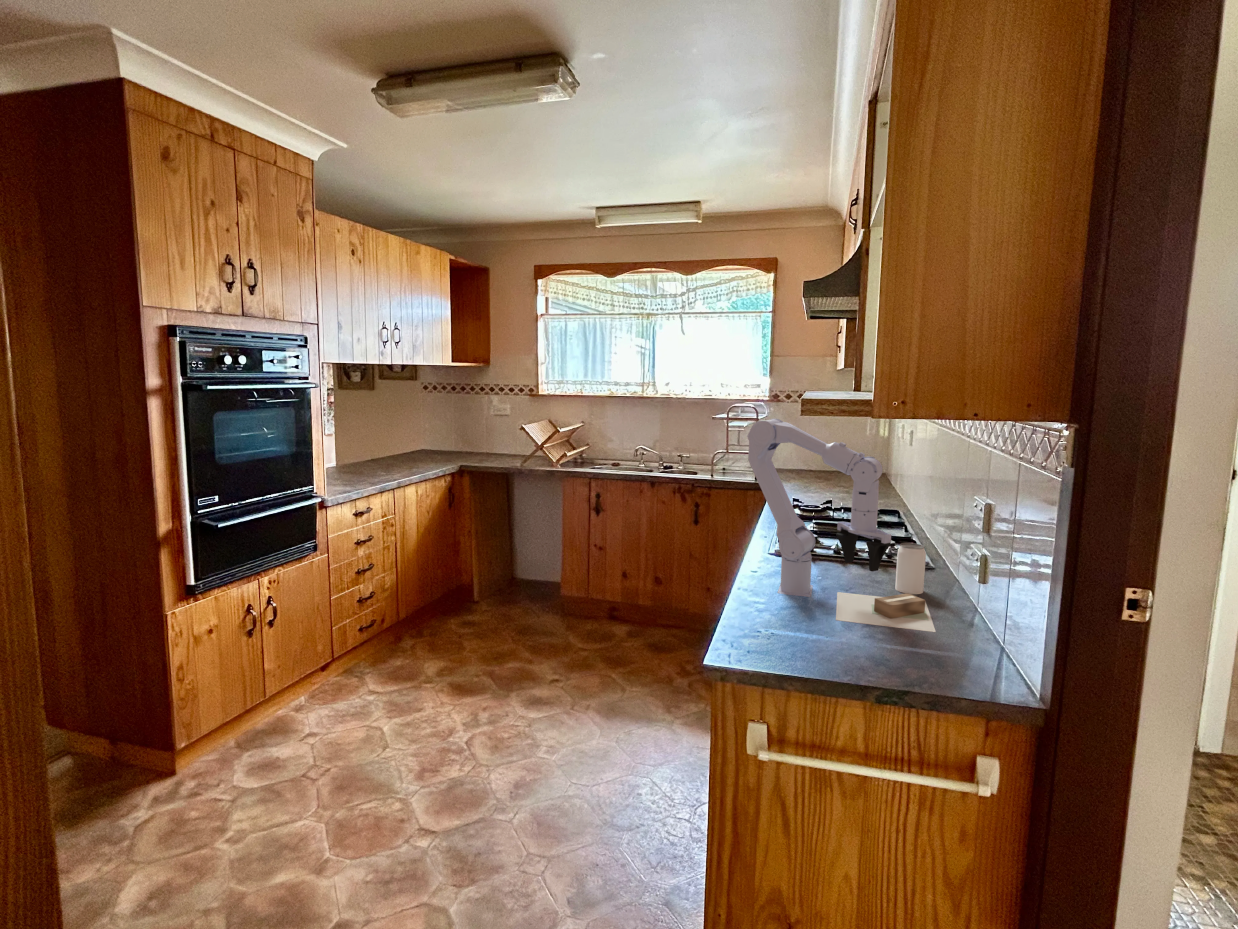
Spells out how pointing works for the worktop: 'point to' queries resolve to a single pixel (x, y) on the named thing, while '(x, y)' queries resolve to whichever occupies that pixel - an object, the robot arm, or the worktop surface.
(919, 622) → the mat
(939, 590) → the worktop surface
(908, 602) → the tissue box
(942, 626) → the worktop surface
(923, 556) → the can
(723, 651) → the worktop surface
